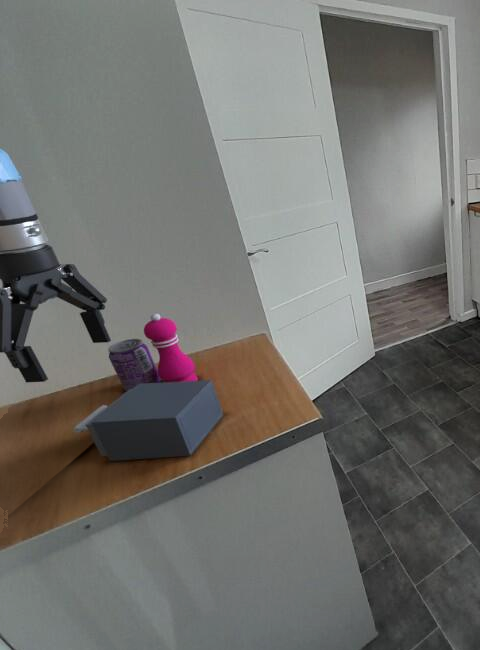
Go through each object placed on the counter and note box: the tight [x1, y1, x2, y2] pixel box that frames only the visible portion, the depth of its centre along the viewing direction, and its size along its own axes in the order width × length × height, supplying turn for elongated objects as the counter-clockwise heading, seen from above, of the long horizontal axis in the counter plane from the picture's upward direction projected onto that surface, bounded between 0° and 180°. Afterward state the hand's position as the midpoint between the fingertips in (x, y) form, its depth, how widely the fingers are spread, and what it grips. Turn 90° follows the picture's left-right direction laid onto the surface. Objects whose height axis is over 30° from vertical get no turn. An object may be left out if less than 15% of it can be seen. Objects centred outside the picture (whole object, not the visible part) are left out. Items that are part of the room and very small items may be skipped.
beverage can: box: [108, 338, 162, 392], centre depth 100 cm, size 7×7×12 cm
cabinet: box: [91, 379, 224, 462], centre depth 85 cm, size 15×13×10 cm
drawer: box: [72, 389, 132, 457], centre depth 84 cm, size 18×11×8 cm, turn 97°
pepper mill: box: [143, 313, 198, 382], centre depth 100 cm, size 7×7×20 cm
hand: (72, 359), depth 75 cm, fingers open, 13 cm apart
